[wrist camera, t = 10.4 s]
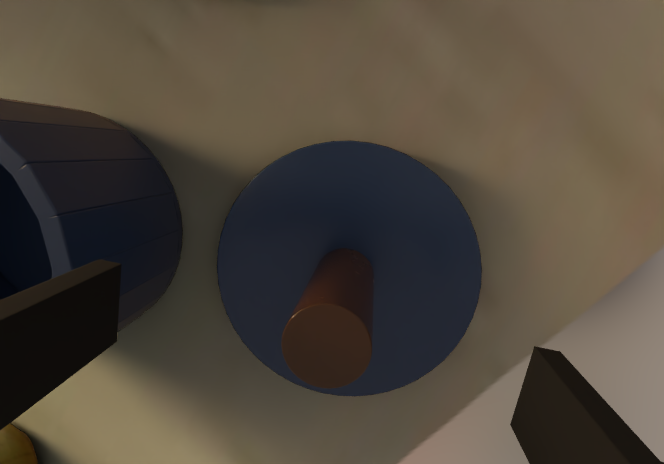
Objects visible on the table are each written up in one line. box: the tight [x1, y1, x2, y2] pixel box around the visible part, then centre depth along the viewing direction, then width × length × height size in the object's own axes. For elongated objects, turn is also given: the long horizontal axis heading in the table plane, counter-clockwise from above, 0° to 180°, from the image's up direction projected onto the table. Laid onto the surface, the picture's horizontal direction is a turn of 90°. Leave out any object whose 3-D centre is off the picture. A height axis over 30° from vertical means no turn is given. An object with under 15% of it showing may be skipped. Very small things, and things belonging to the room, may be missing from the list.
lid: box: [217, 141, 482, 396], centre depth 18 cm, size 14×14×9 cm
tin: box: [0, 98, 183, 331], centre depth 19 cm, size 13×13×8 cm
